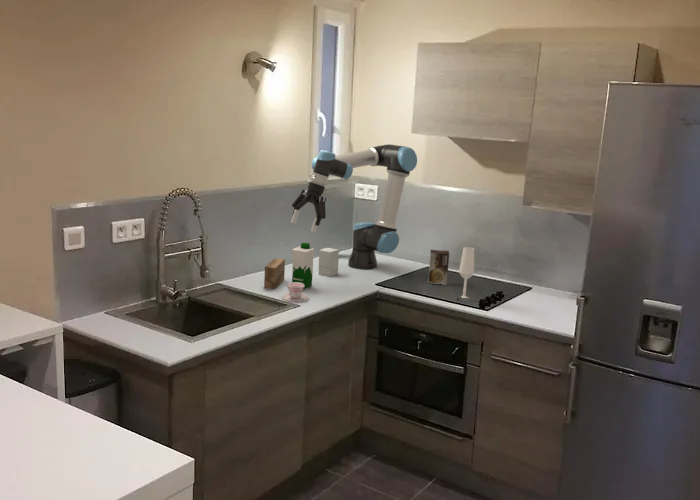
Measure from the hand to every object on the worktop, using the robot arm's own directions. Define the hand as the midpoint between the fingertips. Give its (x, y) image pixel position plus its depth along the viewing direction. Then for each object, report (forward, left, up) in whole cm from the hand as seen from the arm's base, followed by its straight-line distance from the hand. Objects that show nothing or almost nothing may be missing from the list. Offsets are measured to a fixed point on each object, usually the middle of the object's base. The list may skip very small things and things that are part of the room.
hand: (303, 227), depth 323 cm
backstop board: (+11, +5, -27) cm, 30 cm away
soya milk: (-2, +5, -27) cm, 28 cm away
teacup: (-3, +23, -27) cm, 36 cm away
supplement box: (-9, -21, -27) cm, 35 cm away
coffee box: (-63, -24, -27) cm, 73 cm away
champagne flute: (-76, -1, -27) cm, 81 cm away
